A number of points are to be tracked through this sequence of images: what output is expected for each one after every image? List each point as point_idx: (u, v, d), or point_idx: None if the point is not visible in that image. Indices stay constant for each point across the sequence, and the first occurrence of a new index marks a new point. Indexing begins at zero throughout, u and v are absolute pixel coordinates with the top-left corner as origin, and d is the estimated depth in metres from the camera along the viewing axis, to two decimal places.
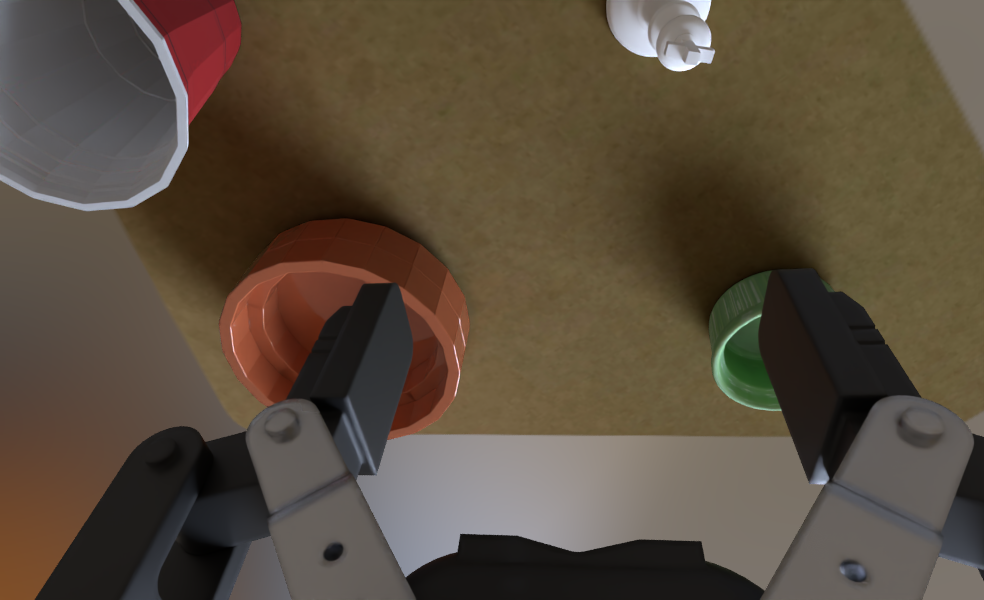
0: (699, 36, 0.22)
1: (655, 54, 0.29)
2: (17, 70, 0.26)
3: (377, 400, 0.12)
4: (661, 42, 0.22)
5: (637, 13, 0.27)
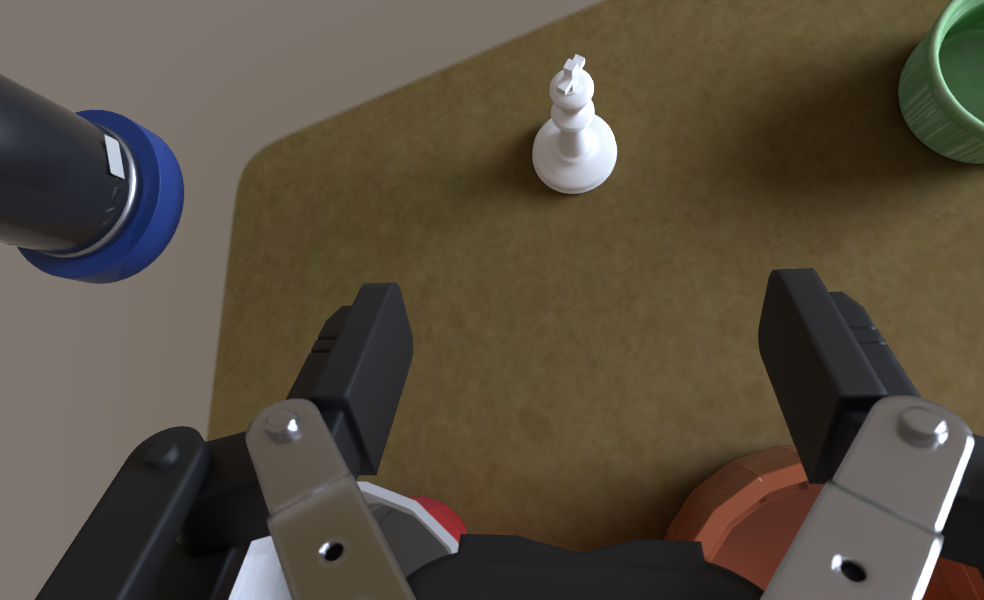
0: None
1: (611, 158, 0.33)
2: None
3: (377, 400, 0.12)
4: (562, 103, 0.27)
5: (569, 161, 0.33)
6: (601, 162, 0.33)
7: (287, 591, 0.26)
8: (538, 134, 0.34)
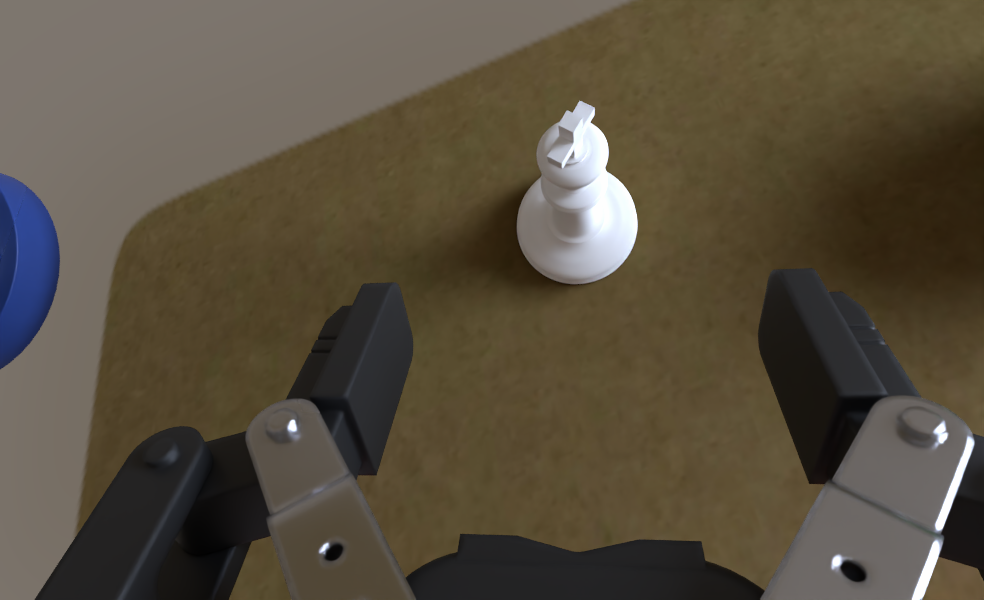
0: None
1: (630, 236, 0.23)
2: None
3: (377, 400, 0.12)
4: (557, 177, 0.16)
5: (569, 242, 0.23)
6: (615, 241, 0.23)
7: None
8: (525, 199, 0.24)
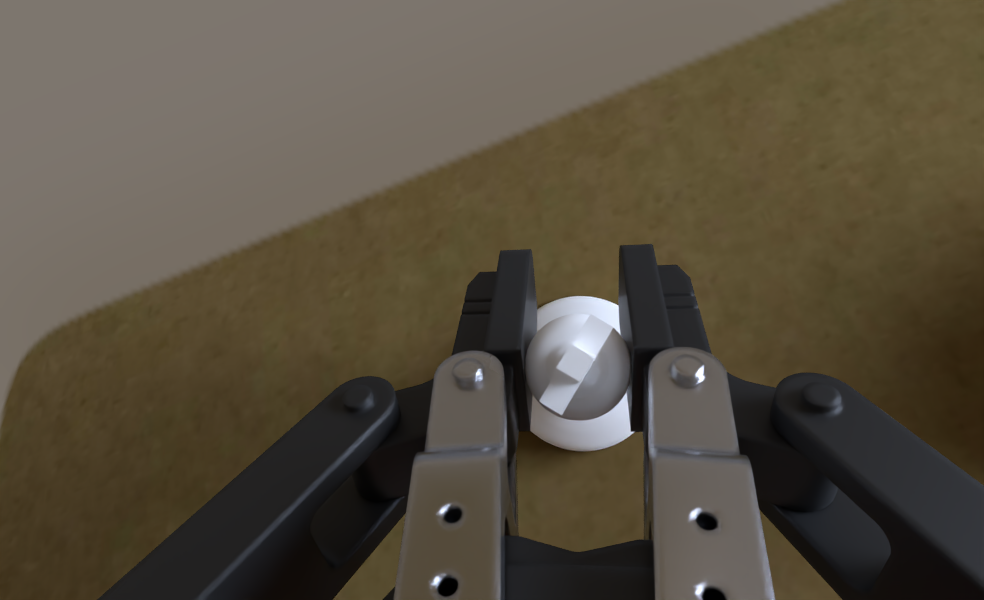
0: (571, 335, 0.11)
1: None
2: None
3: None
4: None
5: None
6: None
7: None
8: None
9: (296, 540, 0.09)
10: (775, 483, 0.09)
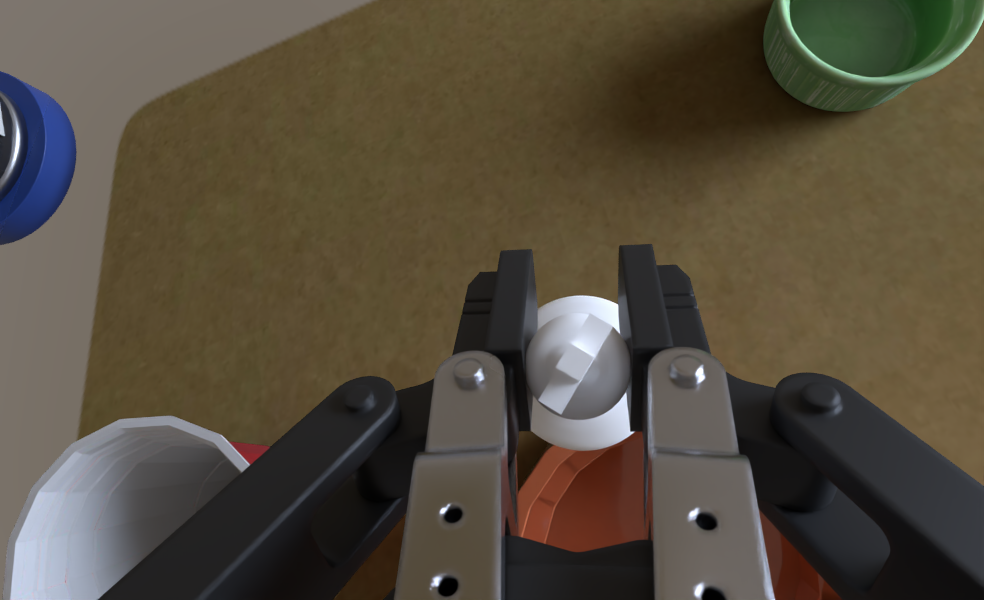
0: (571, 334, 0.11)
1: None
2: None
3: None
4: None
5: None
6: None
7: (118, 534, 0.26)
8: None
9: (297, 540, 0.09)
10: (775, 483, 0.09)
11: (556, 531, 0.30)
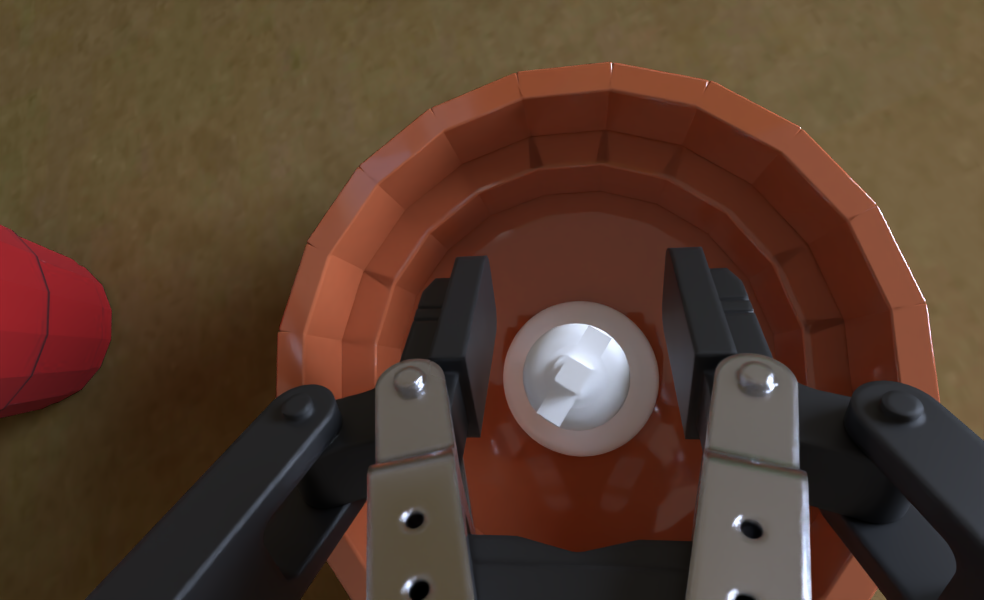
0: (569, 345, 0.11)
1: (650, 402, 0.18)
2: None
3: (479, 366, 0.12)
4: None
5: None
6: (631, 410, 0.18)
7: None
8: (513, 345, 0.19)
9: (250, 554, 0.08)
10: (848, 494, 0.09)
11: None
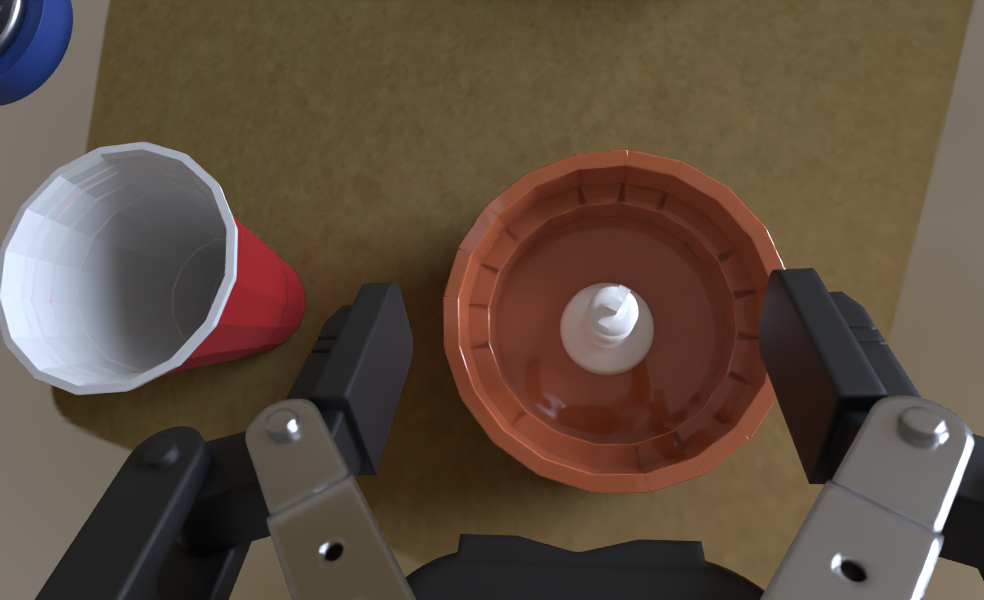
0: (610, 296, 0.23)
1: (649, 341, 0.30)
2: (146, 364, 0.27)
3: (377, 400, 0.12)
4: (602, 329, 0.23)
5: (602, 347, 0.30)
6: (638, 345, 0.30)
7: (99, 282, 0.29)
8: (567, 309, 0.31)
9: None
10: None
11: (504, 311, 0.32)
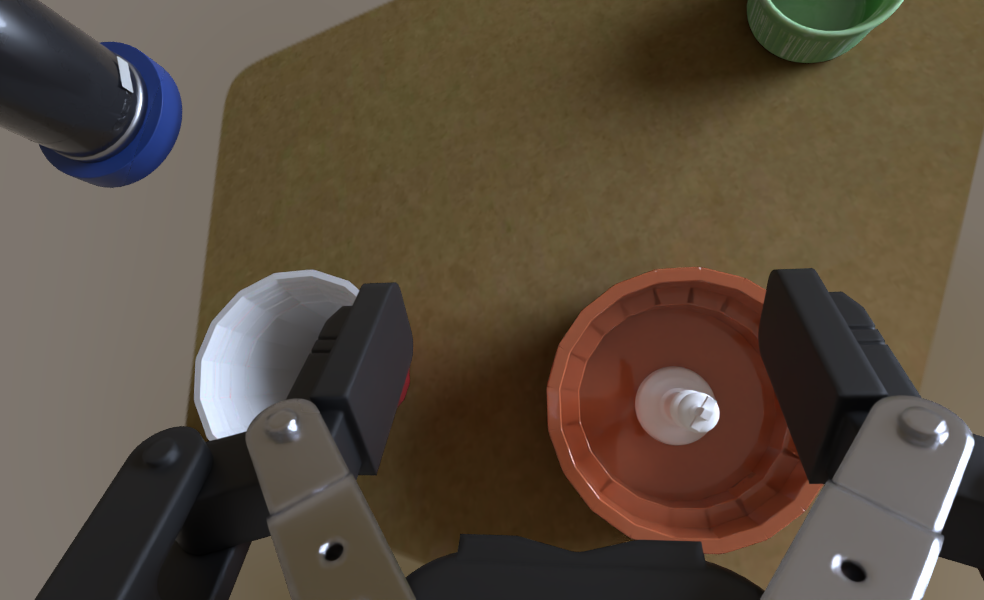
0: (696, 400, 0.29)
1: None
2: None
3: (376, 400, 0.12)
4: (691, 427, 0.29)
5: (675, 424, 0.35)
6: None
7: (259, 373, 0.34)
8: (642, 389, 0.37)
9: None
10: None
11: (586, 389, 0.38)
